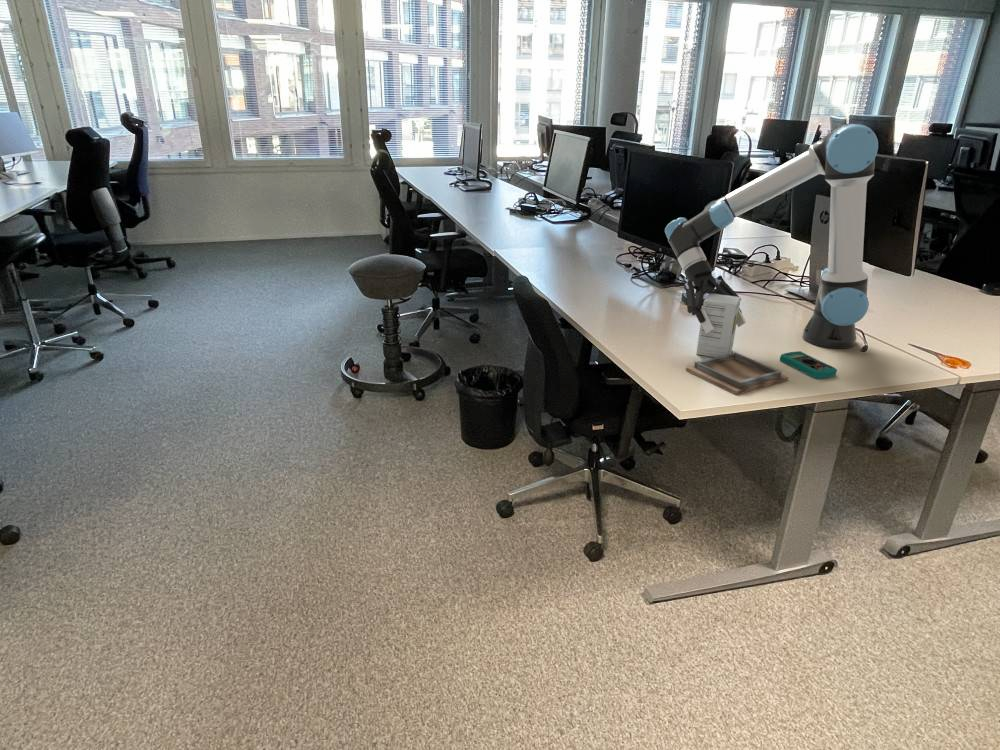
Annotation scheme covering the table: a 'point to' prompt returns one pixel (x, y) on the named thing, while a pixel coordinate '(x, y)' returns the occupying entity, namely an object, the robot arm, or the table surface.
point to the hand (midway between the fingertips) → (726, 328)
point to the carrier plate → (736, 373)
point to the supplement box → (719, 325)
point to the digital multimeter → (808, 365)
